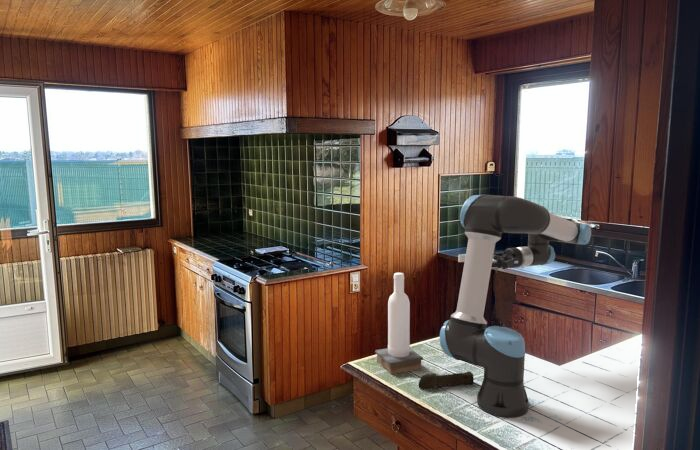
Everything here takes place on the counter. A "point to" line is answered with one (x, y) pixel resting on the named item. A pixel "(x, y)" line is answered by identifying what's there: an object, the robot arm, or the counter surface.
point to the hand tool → (445, 380)
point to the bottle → (398, 320)
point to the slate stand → (398, 361)
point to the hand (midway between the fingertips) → (469, 261)
